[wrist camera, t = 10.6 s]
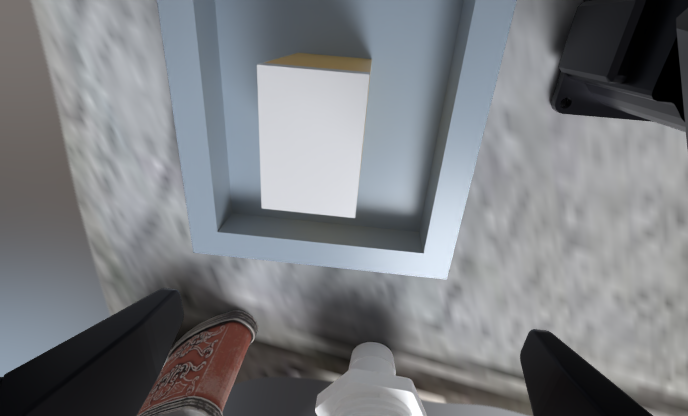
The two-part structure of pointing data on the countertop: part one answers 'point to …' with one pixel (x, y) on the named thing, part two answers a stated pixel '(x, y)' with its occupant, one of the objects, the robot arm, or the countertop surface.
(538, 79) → the countertop surface
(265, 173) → the yellow and white block
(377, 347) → the pipe fitting
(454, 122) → the parts tray
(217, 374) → the lighter
